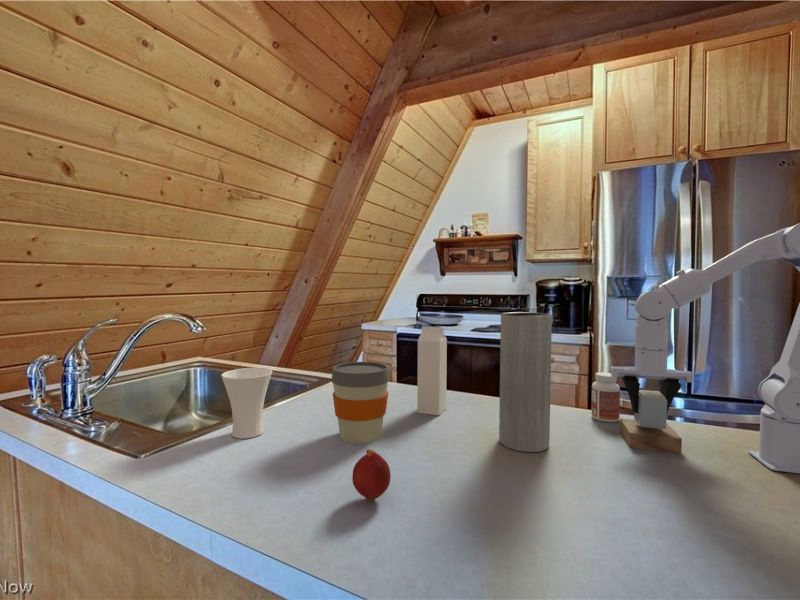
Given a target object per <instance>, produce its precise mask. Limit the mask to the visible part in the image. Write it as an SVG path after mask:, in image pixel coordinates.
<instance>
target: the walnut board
mask: <svg viewBox="0 0 800 600" xmlns="http://www.w3.org/2000/svg"><path fill="white" fill-rule="evenodd" d="M619 433H620V434H621V436H622V438H623V439H624V441H625V442H626V444H627V446H628V447H629V448H632V449H640V450H648V451H658V452H666V453H674V454H682V444H683V443H682V442H683V438H682V437H681V436H680V435H679V434H678V433H677V432H676V431H675V430H674V428H672V427H671V426H670V425H669V424H668V423H667V422H666V429H660V428H650V427H640V426H639V424H638V423H637V422H636V420H635V419H629V418H620V417H619Z"/></svg>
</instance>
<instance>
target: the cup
mask: <svg viewBox="0 0 800 600" xmlns="http://www.w3.org/2000/svg"><path fill="white" fill-rule="evenodd" d="M272 374H273V370H272V369H270V368H265V367H246V368H245V367H243V368H235V369H232V370H227V371H225V372H223V373H221V375H220V377H221V378H222V382H223V384H224V386H225V390H226V393H227V396H228V399H229V403H230V409H231V413H232V414H231V415H232V431H231V436H232V437H233V438H234V439H244V440H245V439H251V438H255V437H258V436H261V435H262V434H263V433H264V431H265V430H264V421H263V417H264V416H263V413H264V405H265V404H264V403H265V399H266V393H267V391H268V386H269V384H270V380H271V377H272Z"/></svg>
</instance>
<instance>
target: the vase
mask: <svg viewBox="0 0 800 600" xmlns="http://www.w3.org/2000/svg"><path fill="white" fill-rule="evenodd" d="M552 319H553V317H552V314H550V313H542V312H527V311H525V312H523V311H516V312H515V311H513V312H509V311H508V312H503V313H500V344H499V345H500V349H499V350H500V357H499V362H500V363H499V413H498V414H499V415H498V416H499V417H498V418H499V427H498V435H499V437H498V438H499V439H498V440H499V442H500V444H502V445H503V446H504V447H506V448H508V449H510V450H514V451H517V452H523V453H540V452H543V451H546V450H547V449H549V448H550V436H551V435H550V431H551V429H550V427H551V385H552V383H551V382H552V381H551V380H552V378H551V377H552V375H551V373H552V333H553V332H552V330H553V329H552V325H553V320H552Z"/></svg>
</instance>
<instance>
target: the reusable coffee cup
mask: <svg viewBox="0 0 800 600" xmlns="http://www.w3.org/2000/svg"><path fill="white" fill-rule="evenodd" d="M331 372H332V373H331V384H332V385H333V393H332V398H333V399H332V400H333V407H334V408H333V409H334V414H335V417H337V422H338V423H337V424H338V430H339V431H338V432H339V436H340V439H341V440H342V441H344V442H346V443H350V444H368V443H373V442H375V441H377V440H379V439H380V438H381V437H382V431H383V424H384V416H385V415H386V414H387V406H388V399H389V398H388V397H389V391H388V383H389V382H390V374H389V366H388V365H387V364H385V363H381V362H374V361H352V362H351V361H350V362H344V363H343V362H342V363H339V364H335V365H334V366H332V371H331Z"/></svg>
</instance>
